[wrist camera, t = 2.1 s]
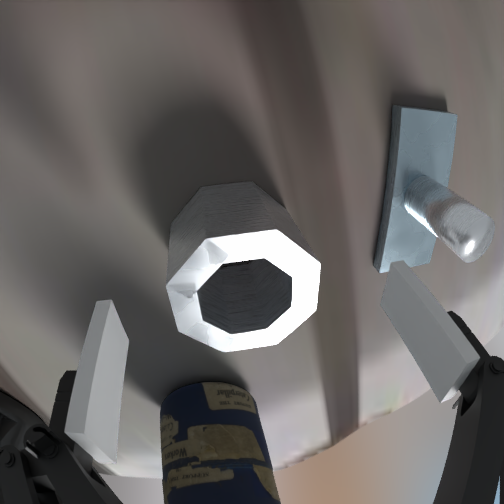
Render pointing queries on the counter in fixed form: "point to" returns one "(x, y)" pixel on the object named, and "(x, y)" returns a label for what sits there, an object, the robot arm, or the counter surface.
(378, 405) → the counter surface
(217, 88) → the counter surface
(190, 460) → the canister
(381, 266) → the shaft stand
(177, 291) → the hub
